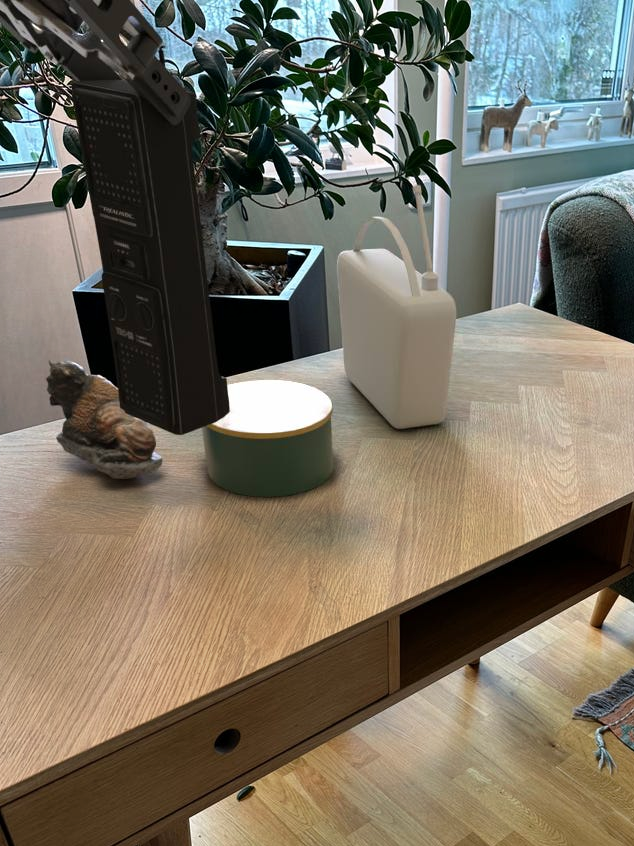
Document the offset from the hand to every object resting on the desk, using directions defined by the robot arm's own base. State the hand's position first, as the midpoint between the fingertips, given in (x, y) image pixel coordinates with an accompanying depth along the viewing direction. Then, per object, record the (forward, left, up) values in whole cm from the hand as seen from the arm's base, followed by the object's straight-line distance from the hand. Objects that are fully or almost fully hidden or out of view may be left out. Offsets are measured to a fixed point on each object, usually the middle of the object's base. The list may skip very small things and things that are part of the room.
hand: (146, 104), depth 59 cm
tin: (-9, +14, -35) cm, 39 cm away
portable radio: (0, -2, -22) cm, 22 cm away
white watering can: (-13, +37, -35) cm, 53 cm away
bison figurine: (-20, +2, -35) cm, 41 cm away
